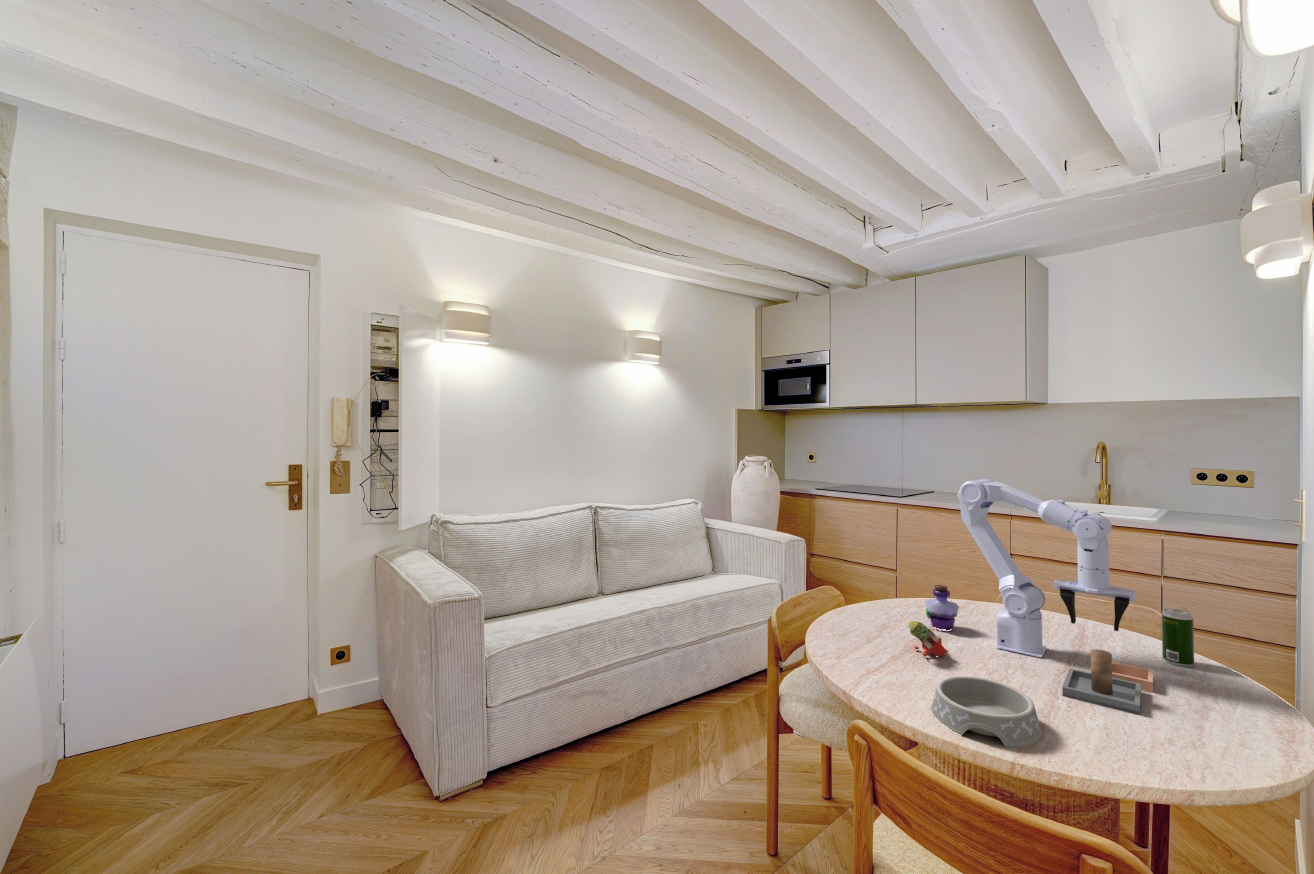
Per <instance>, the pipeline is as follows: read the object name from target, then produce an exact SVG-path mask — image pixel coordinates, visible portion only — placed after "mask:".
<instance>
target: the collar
mask: <svg viewBox="0 0 1314 874" xmlns="http://www.w3.org/2000/svg"><path fill="white" fill-rule="evenodd" d="M1112 677H1113V678H1117V679H1122V680H1126V681H1131V682H1136V683H1140V684H1141V691H1143V692H1148V693H1152V694H1154V669H1149V668H1145V667H1139V666H1134V665H1130V664H1125V663H1121V662H1116V661H1112Z"/></svg>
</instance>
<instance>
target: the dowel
mask: <svg viewBox="0 0 1314 874" xmlns="http://www.w3.org/2000/svg"><path fill="white" fill-rule="evenodd" d="M1112 662H1113V655H1112V653H1111V652H1109V651H1106V650H1104V649H1099V648H1098V649H1095V648H1094V649H1091V650H1090V673H1091V686H1092V690H1093V691H1095V692H1097V693H1100V694H1105V695H1111V694H1113V687H1112Z"/></svg>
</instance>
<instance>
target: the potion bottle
mask: <svg viewBox="0 0 1314 874" xmlns="http://www.w3.org/2000/svg"><path fill="white" fill-rule="evenodd" d="M932 595H933V596H935V599H929V600H925V601H924V603H925V608H926V609H925V613H926V617H927V618H928V619H929V621H930V623H931V624H930V625H931V626H933V627H936V628H939V629H946V630H950V629H953V630H954V626H955V621H956V618H957V617H958V611H959V609H960V606H959V605H958V604H957V603H956V602H953V601H950V600H948V598H950V597H951V591H950V590H948V586H946V585H942V584H935V585H934V588H932Z"/></svg>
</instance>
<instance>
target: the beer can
mask: <svg viewBox="0 0 1314 874" xmlns="http://www.w3.org/2000/svg"><path fill="white" fill-rule="evenodd" d="M1192 615H1193V614H1192V612H1190V611H1187V610H1183V609H1179V608H1170V607H1169V608H1168V607H1167V608H1163V609H1162V613H1161V648H1162V649H1161V650H1162V655H1161V656H1162V659H1163V660H1164V662H1166V663H1167V664H1170V665H1172V666H1176V667H1180V668H1192V667H1193V666H1194V664H1195V637H1194V636H1195V634H1194V633H1195V632H1194V630H1195V625H1194V624H1195V623H1194V617H1193V616H1192Z"/></svg>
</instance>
